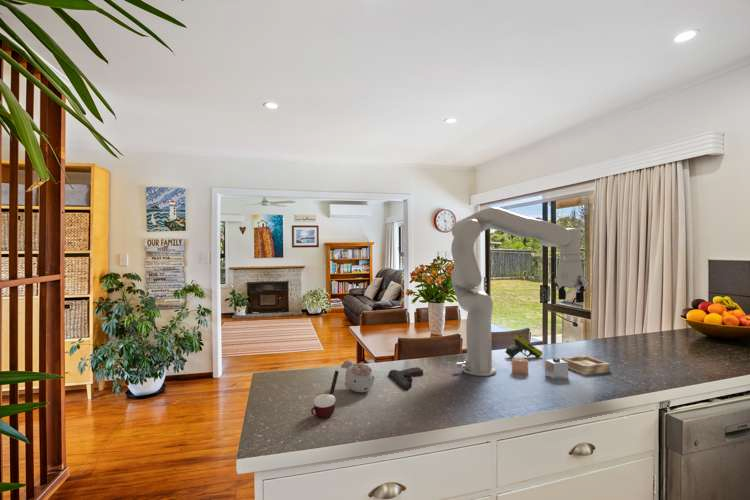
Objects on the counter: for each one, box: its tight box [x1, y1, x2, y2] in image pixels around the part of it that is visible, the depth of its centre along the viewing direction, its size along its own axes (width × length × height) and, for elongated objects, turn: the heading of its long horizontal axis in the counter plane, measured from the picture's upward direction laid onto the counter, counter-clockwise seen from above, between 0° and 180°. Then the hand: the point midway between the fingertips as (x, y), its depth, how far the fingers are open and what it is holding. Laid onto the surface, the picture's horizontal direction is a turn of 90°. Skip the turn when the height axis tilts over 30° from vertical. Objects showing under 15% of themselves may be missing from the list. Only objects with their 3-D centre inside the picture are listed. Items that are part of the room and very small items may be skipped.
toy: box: [340, 359, 375, 393], centre depth 137 cm, size 10×15×10 cm, turn 27°
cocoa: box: [310, 370, 340, 419], centre depth 115 cm, size 10×6×12 cm, turn 110°
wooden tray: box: [560, 355, 611, 376], centre depth 154 cm, size 12×12×3 cm
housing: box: [544, 357, 569, 380], centre depth 145 cm, size 6×5×7 cm
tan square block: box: [511, 357, 529, 376], centre depth 150 cm, size 6×6×5 cm
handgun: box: [388, 367, 424, 391], centre depth 144 cm, size 2×18×13 cm
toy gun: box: [505, 334, 543, 359], centre depth 171 cm, size 2×14×10 cm
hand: (570, 300), depth 158 cm, fingers open, 9 cm apart
